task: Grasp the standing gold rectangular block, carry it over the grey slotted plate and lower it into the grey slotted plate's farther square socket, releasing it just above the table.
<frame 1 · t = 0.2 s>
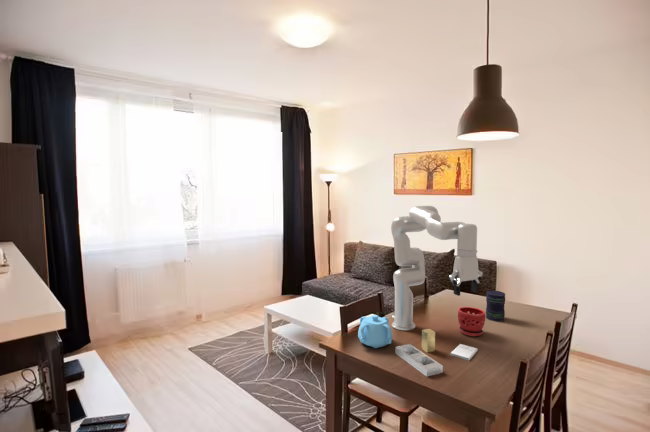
hand: (465, 293, 150), 31 cm above the table, fingers open, 9 cm apart
decorative pot: (374, 343, 173), on the table
grey slotted plate: (417, 362, 154), on the table
plant pot: (470, 333, 185), on the table
storage jar: (494, 318, 205), on the table
gold rectangular block: (428, 349, 166), on the table
external hard drive: (464, 354, 163), on the table
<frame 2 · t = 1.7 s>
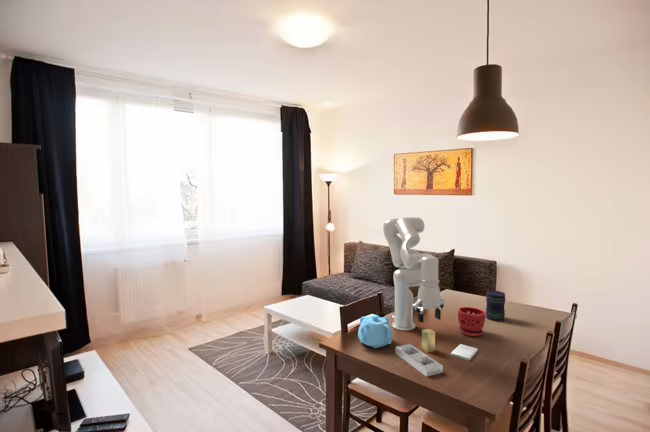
hand: (429, 320, 164), 14 cm above the table, fingers open, 9 cm apart
nothing on the table moved.
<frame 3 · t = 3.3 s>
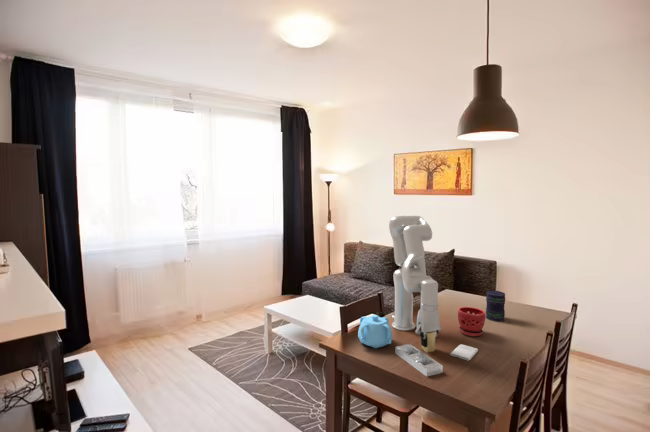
hand: (428, 344, 166), 2 cm above the table, fingers closed on gold rectangular block, 4 cm apart
gold rectangular block: (428, 349, 166), on the table, touching gripper
everything else where it was.
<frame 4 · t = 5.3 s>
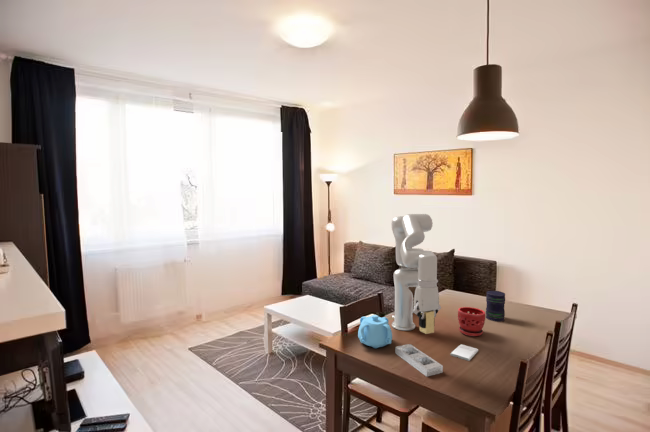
hand: (426, 325, 150), 17 cm above the table, fingers closed on gold rectangular block, 4 cm apart
gold rectangular block: (426, 331, 150), point 15 cm above the table, touching gripper
everything else where it was.
when the fingers open (3 cm above the table, at t = 7.4 s): gold rectangular block drops 1 cm, resting in grey slotted plate.
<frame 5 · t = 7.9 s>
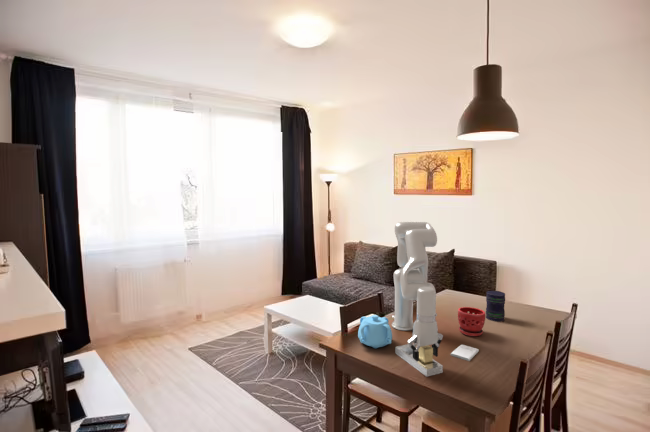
hand: (425, 357, 149), 4 cm above the table, fingers open, 9 cm apart
gold rectangular block: (425, 367, 149), resting in grey slotted plate
everything else where it was.
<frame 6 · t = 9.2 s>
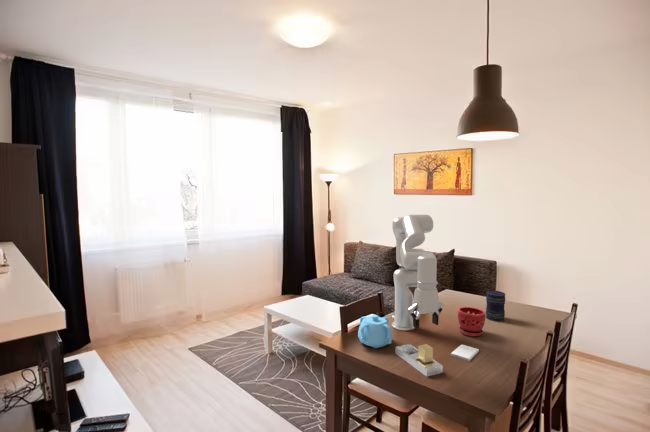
hand: (425, 325, 148), 18 cm above the table, fingers open, 9 cm apart
nothing on the table moved.
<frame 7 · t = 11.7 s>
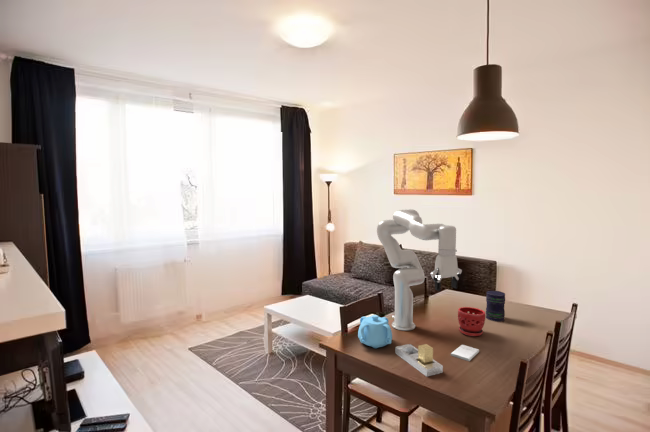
hand: (446, 289, 165), 28 cm above the table, fingers open, 9 cm apart
nothing on the table moved.
at the end: gold rectangular block 0.2 cm from the target spot on the grey slotted plate, point 0.0 cm above the grey slotted plate's base; gold rectangular block tilted 0°; the gripper is holding nothing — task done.
